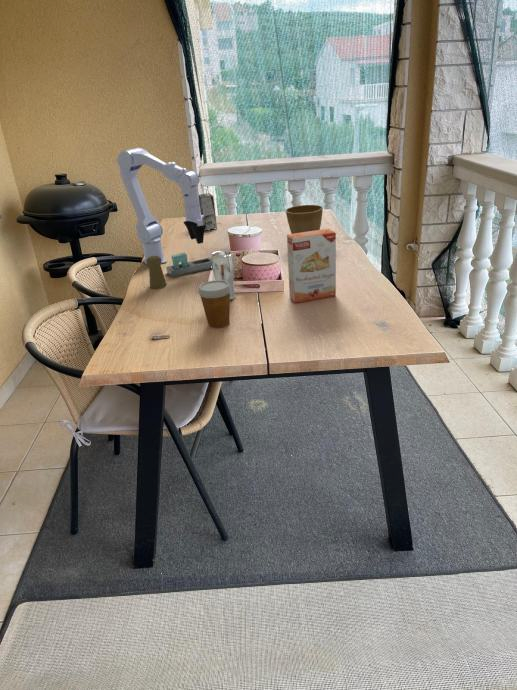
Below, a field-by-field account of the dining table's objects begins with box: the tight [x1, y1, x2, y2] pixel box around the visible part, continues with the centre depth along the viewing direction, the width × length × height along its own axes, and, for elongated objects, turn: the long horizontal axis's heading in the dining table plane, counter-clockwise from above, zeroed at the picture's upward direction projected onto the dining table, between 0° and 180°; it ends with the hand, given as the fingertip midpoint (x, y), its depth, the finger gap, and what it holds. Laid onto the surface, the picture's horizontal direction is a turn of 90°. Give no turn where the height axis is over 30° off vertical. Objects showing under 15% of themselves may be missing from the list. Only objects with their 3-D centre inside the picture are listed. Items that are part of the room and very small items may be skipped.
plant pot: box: [285, 204, 324, 234], centre depth 212 cm, size 15×15×16 cm
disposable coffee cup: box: [197, 279, 231, 329], centre depth 151 cm, size 10×10×12 cm
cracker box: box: [286, 228, 337, 304], centre depth 161 cm, size 14×6×21 cm, turn 105°
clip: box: [170, 252, 189, 269], centre depth 197 cm, size 2×5×7 cm, turn 116°
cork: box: [146, 256, 167, 290], centre depth 185 cm, size 6×6×11 cm
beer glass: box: [211, 250, 237, 301], centre depth 168 cm, size 7×7×15 cm
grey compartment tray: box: [166, 257, 212, 278], centre depth 200 cm, size 6×18×2 cm, turn 116°
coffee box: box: [198, 192, 218, 231], centre depth 254 cm, size 9×6×16 cm
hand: (197, 240), depth 200 cm, fingers open, 7 cm apart
